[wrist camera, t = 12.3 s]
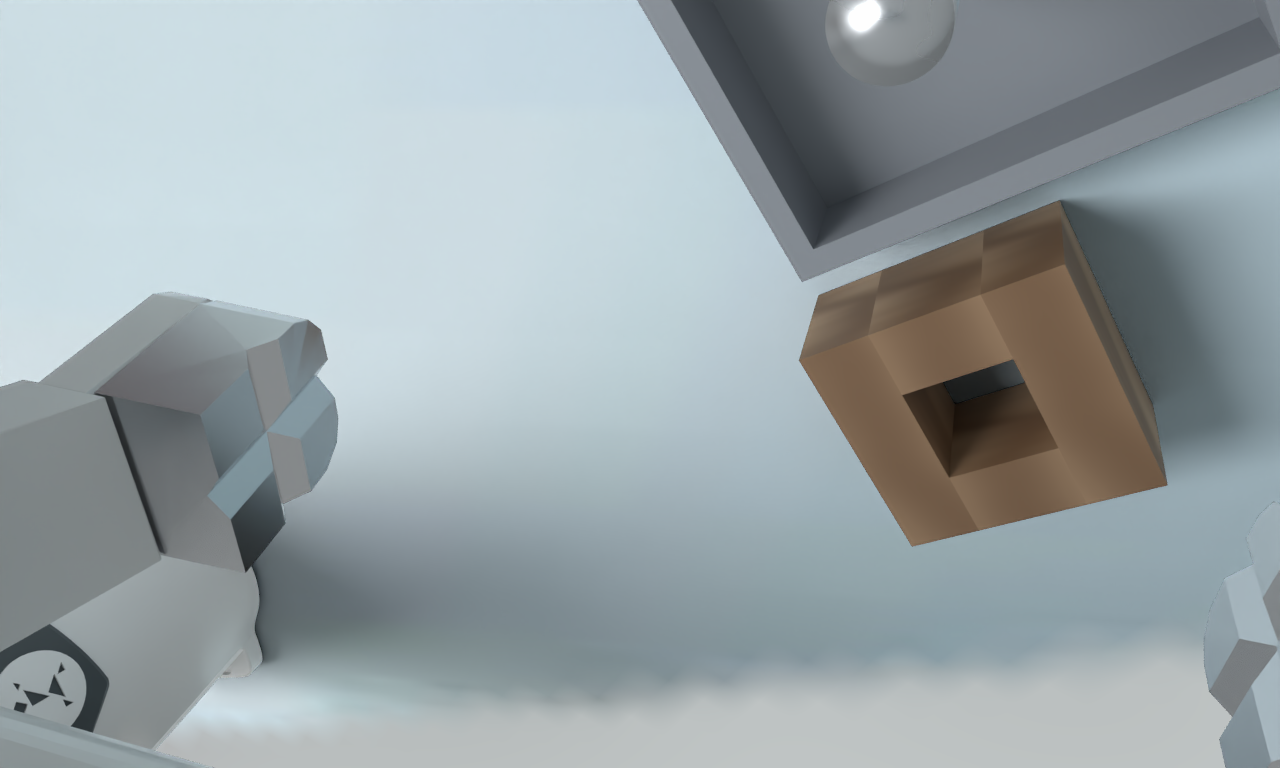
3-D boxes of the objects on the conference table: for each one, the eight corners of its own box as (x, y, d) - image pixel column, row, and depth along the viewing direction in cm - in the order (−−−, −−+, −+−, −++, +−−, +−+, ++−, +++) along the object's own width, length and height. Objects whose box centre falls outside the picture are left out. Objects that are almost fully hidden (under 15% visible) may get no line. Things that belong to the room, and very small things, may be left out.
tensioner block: (920, 471, 37) (912, 546, 34) (818, 295, 34) (799, 360, 31) (1153, 406, 33) (1167, 485, 30) (1059, 200, 30) (1064, 264, 27)
